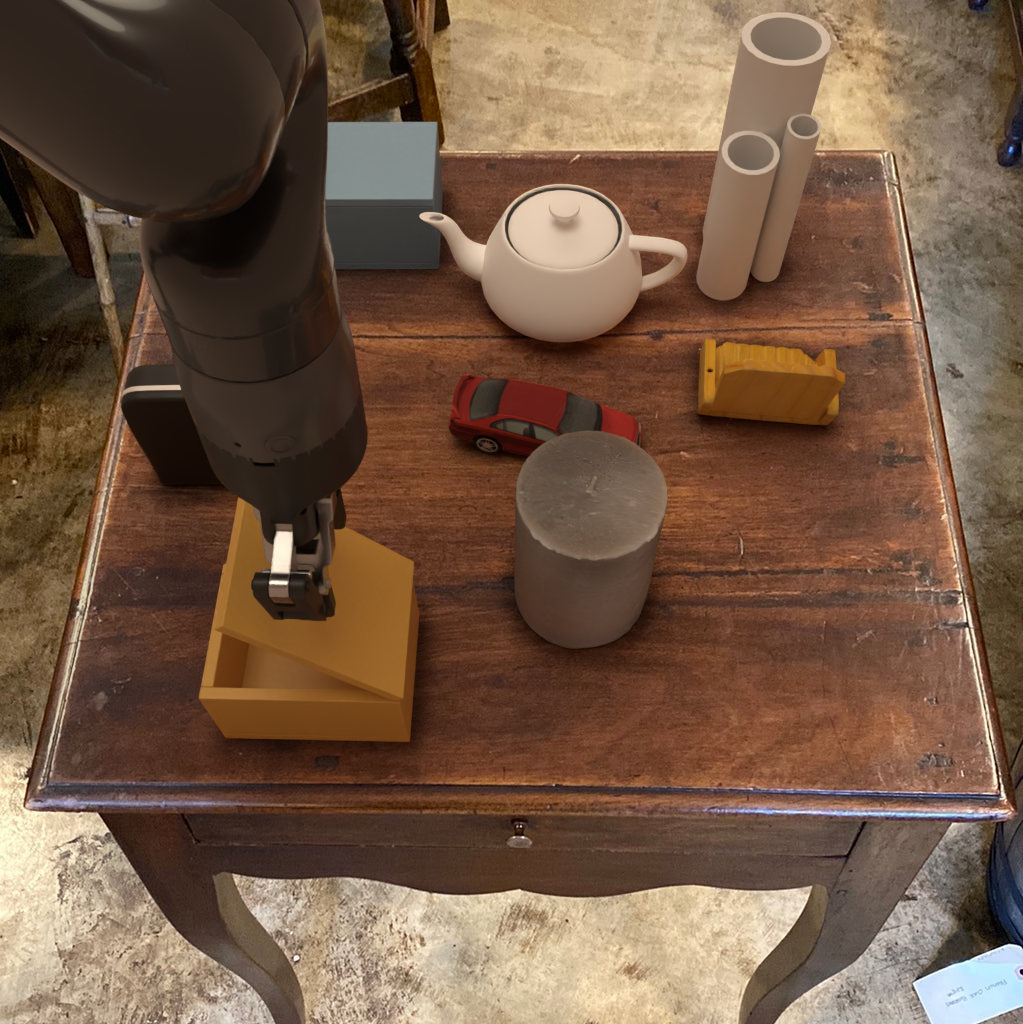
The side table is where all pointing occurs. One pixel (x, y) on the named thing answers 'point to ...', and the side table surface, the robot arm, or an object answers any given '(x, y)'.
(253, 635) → the lid
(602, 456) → the pillar candle
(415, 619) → the case
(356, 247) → the case
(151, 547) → the side table surface
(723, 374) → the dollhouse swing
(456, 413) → the toy car
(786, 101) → the vase
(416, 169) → the lid
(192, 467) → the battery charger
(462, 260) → the teapot
